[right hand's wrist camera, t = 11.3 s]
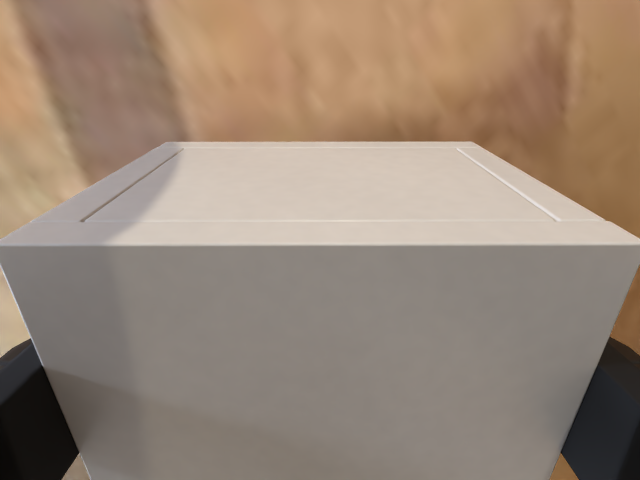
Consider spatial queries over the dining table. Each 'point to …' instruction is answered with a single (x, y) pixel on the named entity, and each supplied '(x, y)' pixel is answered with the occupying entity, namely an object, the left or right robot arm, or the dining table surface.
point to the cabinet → (319, 312)
